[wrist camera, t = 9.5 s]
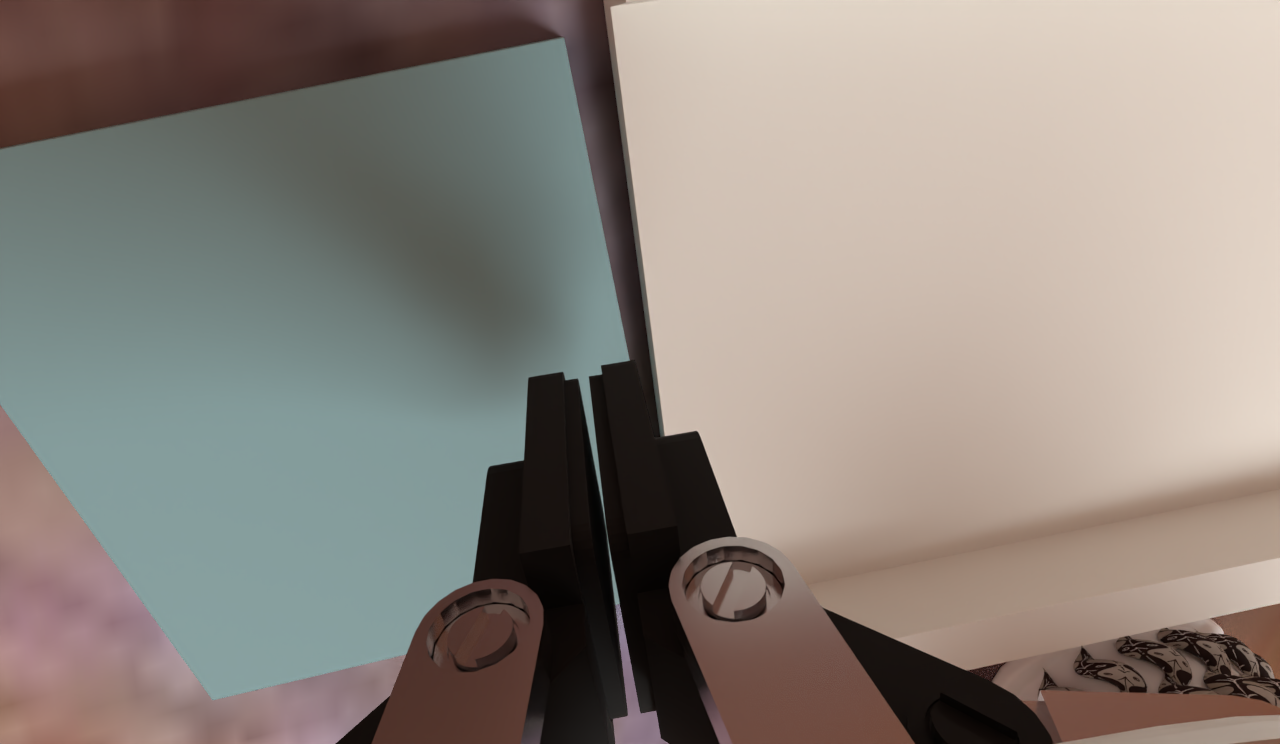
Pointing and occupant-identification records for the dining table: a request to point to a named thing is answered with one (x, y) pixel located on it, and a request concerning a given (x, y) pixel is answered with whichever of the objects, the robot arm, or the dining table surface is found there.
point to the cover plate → (303, 343)
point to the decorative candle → (1149, 666)
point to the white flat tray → (971, 300)
